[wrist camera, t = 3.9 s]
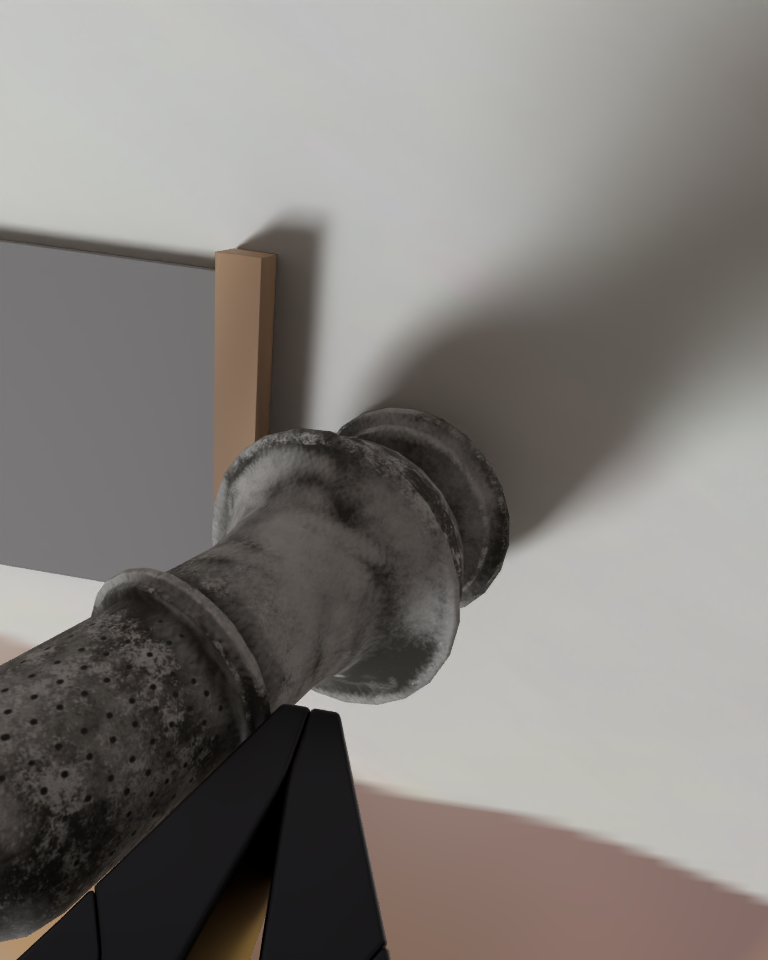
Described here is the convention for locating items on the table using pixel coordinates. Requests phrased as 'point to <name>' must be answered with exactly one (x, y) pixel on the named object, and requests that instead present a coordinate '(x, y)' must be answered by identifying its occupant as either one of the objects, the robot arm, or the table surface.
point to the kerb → (242, 352)
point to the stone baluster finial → (240, 639)
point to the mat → (104, 411)
